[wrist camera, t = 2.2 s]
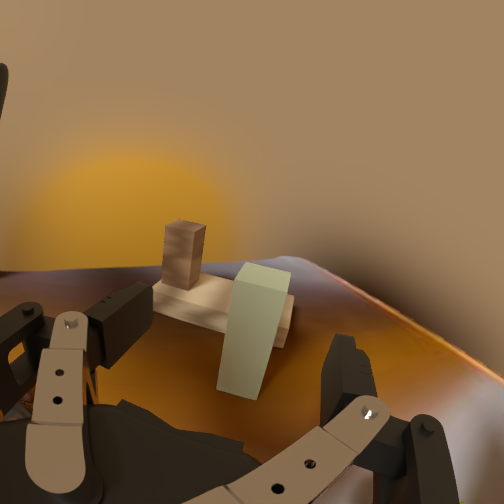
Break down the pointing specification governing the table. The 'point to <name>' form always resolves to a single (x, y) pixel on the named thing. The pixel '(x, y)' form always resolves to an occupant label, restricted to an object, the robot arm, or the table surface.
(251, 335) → the pillar
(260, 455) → the table surface
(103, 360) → the robot arm
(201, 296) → the base slab
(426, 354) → the table surface
